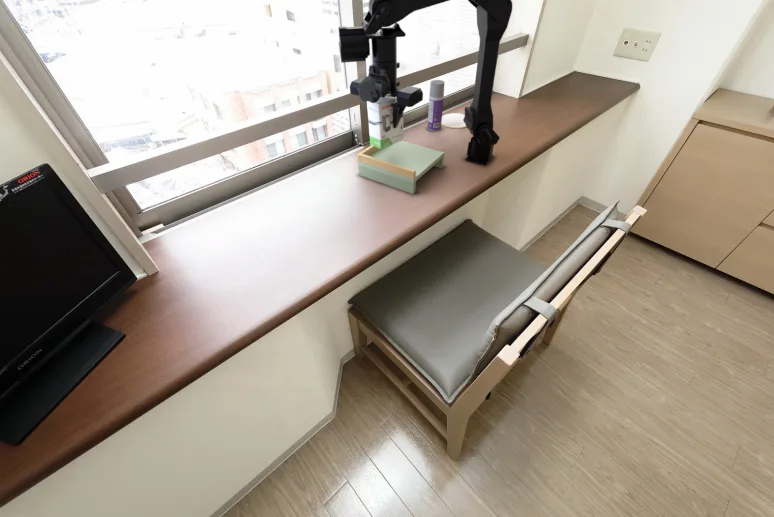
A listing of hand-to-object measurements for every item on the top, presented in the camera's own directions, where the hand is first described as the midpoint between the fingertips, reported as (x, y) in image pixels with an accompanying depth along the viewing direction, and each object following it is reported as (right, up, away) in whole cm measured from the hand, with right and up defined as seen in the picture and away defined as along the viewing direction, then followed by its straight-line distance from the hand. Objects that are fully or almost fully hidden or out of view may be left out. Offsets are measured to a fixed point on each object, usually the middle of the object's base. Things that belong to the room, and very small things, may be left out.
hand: (386, 125), depth 90 cm
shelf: (+4, -10, +8) cm, 14 cm away
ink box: (0, -4, +3) cm, 5 cm away
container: (+17, +10, +28) cm, 34 cm away
